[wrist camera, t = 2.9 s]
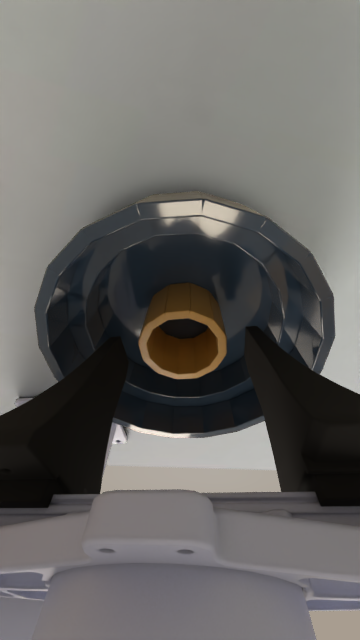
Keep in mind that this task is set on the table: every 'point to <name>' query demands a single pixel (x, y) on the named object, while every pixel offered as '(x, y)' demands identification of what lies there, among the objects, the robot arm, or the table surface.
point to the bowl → (184, 267)
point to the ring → (188, 353)
